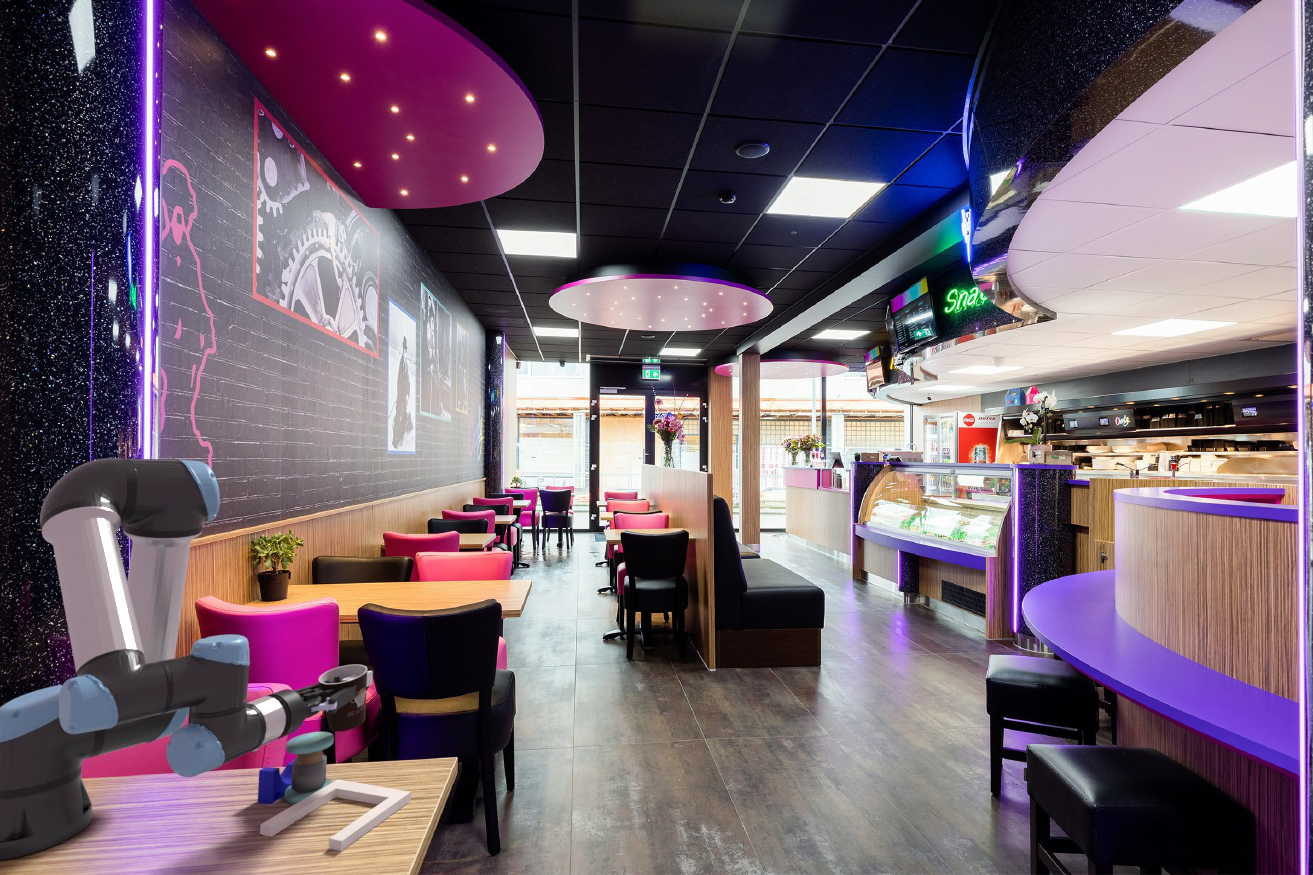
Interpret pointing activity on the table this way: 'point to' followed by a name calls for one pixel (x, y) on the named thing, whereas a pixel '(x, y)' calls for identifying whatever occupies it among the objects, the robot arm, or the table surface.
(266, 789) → the cable clip
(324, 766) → the bobbin
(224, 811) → the table surface
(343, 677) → the coffee mug
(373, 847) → the table surface
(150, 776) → the table surface
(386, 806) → the u-shaped bracket
